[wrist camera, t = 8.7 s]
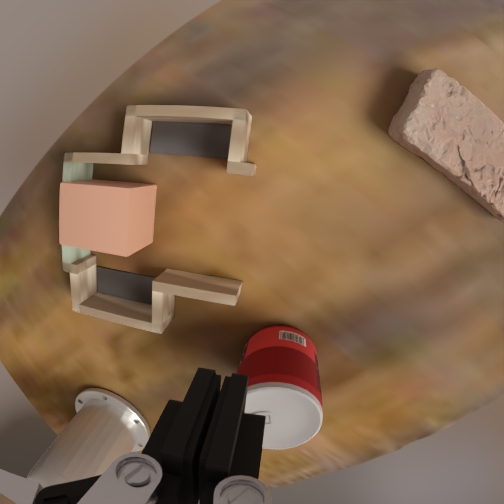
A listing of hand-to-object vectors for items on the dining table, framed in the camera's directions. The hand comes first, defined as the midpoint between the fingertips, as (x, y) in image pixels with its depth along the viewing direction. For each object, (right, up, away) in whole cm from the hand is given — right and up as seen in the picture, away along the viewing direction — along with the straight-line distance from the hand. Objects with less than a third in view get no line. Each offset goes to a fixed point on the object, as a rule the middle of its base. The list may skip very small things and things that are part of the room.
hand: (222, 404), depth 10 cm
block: (-13, +10, +22) cm, 28 cm away
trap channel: (-9, +9, +22) cm, 25 cm away
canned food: (+4, -6, +24) cm, 25 cm away
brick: (+23, +16, +17) cm, 32 cm away
